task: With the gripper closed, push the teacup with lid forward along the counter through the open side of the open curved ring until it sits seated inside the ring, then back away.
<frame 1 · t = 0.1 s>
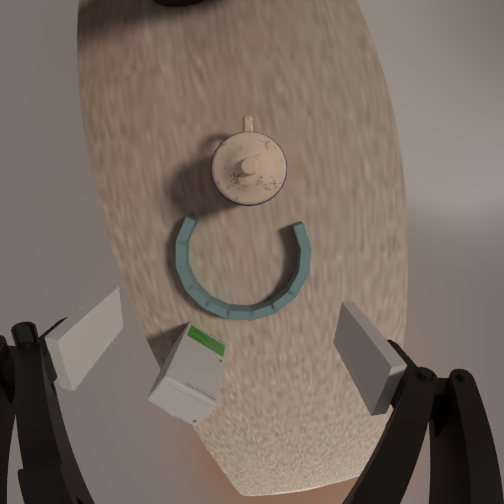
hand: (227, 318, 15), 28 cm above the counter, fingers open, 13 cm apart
skincare box: (198, 344, 47), on the counter
open curved ring: (242, 254, 43), on the counter
teacup with lid: (248, 162, 40), on the counter
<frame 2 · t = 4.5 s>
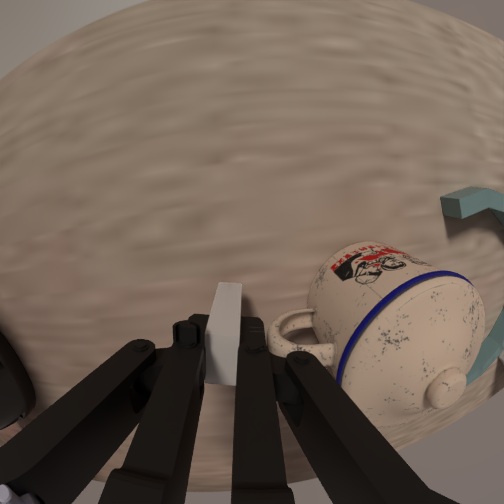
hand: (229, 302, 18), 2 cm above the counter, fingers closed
open curved ring: (464, 297, 20), on the counter
teacup with lid: (343, 297, 20), on the counter, touching gripper
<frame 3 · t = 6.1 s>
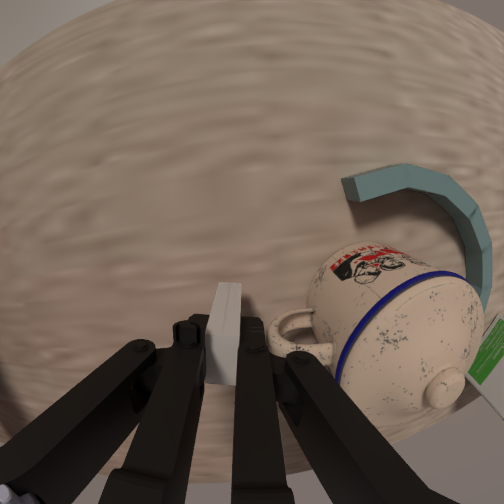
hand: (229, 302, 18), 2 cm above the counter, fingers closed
skincare box: (484, 350, 22), on the counter
open curved ring: (392, 299, 20), on the counter
teacup with lid: (342, 297, 20), on the counter, touching gripper
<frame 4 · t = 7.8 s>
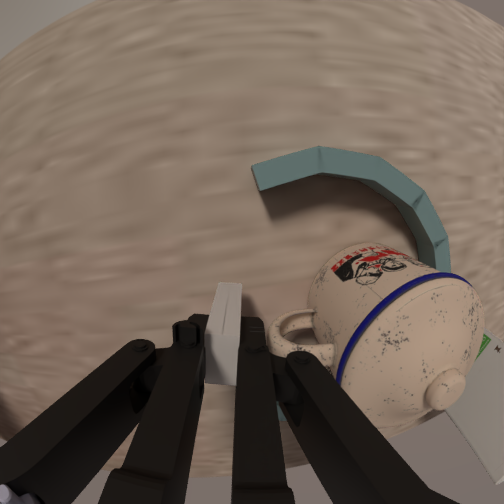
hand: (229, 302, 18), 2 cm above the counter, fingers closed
skincare box: (454, 357, 22), on the counter
open curved ring: (321, 298, 19), on the counter
teacup with lid: (343, 298, 20), on the counter, touching gripper
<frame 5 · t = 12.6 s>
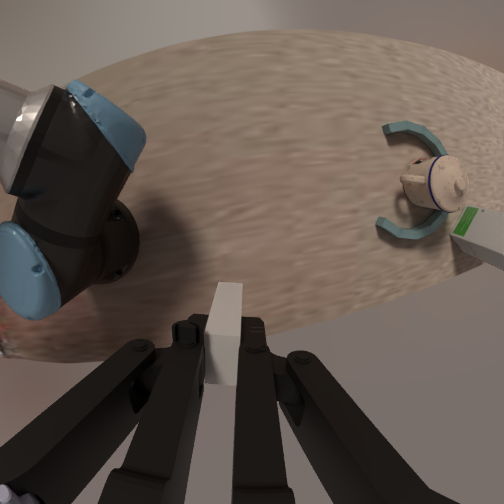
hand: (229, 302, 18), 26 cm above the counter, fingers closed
skincare box: (464, 229, 44), on the counter
open curved ring: (407, 179, 42), on the counter
teacup with lid: (414, 181, 42), on the counter
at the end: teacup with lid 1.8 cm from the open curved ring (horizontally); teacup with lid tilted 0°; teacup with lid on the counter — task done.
